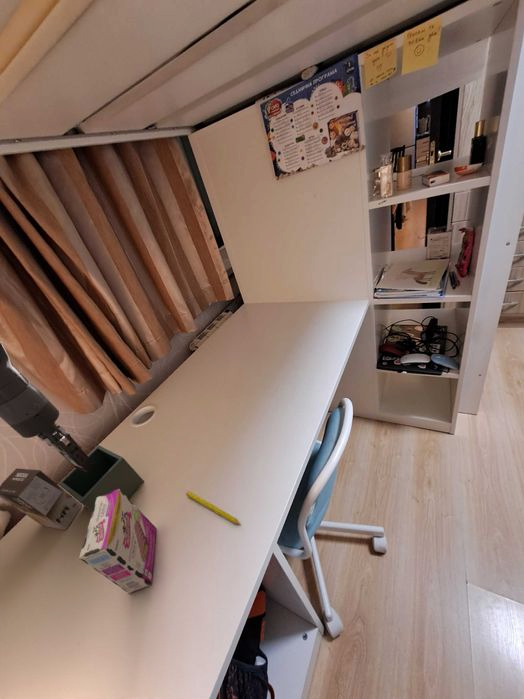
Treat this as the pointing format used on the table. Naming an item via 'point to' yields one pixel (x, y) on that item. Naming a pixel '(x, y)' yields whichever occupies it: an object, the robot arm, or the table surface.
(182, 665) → the table surface
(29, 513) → the coffee box
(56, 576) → the table surface
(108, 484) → the box
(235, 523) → the pencil
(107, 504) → the candy bar box
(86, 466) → the ink cartridge
